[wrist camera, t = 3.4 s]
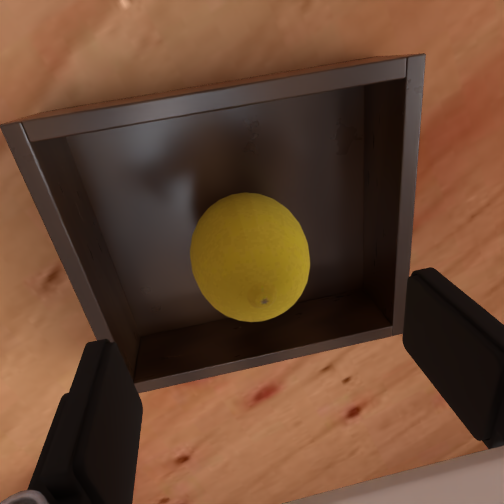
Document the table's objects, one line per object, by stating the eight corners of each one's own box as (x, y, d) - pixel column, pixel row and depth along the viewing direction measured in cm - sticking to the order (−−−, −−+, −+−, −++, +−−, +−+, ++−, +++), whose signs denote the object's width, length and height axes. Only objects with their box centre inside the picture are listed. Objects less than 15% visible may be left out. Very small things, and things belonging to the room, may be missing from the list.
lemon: (196, 269, 22) (199, 366, 15) (183, 179, 19) (180, 244, 12) (286, 258, 22) (330, 346, 15) (285, 170, 20) (339, 226, 13)
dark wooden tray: (376, 56, 18) (426, 53, 14) (372, 293, 25) (405, 333, 21) (40, 112, 17) (-3, 124, 13) (132, 345, 24) (122, 397, 20)
